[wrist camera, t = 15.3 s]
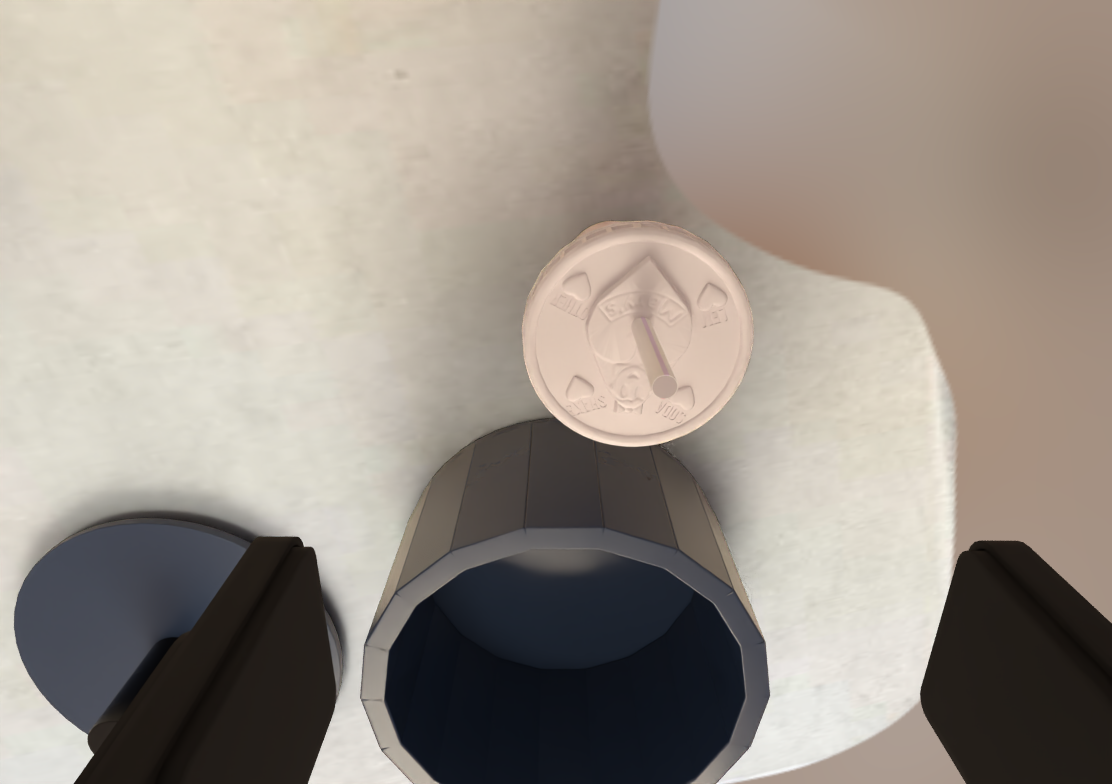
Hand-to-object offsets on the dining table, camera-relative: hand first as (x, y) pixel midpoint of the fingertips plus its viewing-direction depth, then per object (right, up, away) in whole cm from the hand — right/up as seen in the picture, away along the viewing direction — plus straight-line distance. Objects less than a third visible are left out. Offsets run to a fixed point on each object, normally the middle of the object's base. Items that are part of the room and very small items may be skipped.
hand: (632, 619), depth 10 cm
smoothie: (+1, +8, +18) cm, 20 cm away
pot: (-1, -5, +23) cm, 23 cm away
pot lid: (-20, -10, +24) cm, 33 cm away
